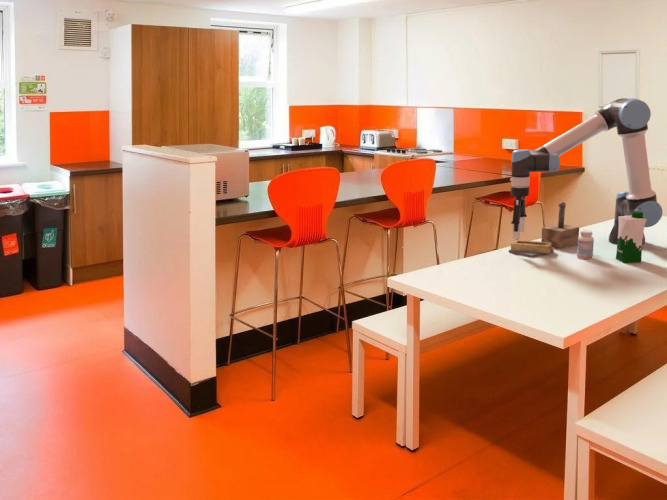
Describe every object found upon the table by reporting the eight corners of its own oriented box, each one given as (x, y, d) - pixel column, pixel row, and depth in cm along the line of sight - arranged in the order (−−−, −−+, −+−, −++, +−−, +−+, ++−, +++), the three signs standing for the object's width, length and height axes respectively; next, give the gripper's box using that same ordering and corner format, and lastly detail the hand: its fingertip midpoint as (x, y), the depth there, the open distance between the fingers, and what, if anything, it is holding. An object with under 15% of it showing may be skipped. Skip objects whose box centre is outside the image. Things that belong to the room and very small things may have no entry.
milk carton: (644, 263, 268) (649, 214, 263) (622, 264, 268) (627, 214, 263) (633, 257, 277) (637, 210, 272) (612, 258, 276) (616, 210, 271)
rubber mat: (553, 251, 288) (553, 249, 288) (531, 257, 280) (531, 255, 279) (530, 246, 298) (530, 244, 297) (508, 252, 289) (508, 250, 289)
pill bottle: (580, 255, 282) (582, 229, 280) (594, 257, 278) (597, 231, 275) (574, 257, 278) (576, 231, 275) (588, 260, 274) (590, 233, 271)
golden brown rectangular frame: (549, 253, 282) (549, 246, 281) (510, 250, 288) (511, 243, 287) (551, 249, 289) (551, 242, 288) (513, 246, 295) (513, 239, 294)
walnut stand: (578, 244, 300) (581, 201, 295) (560, 249, 292) (563, 205, 288) (559, 240, 308) (561, 198, 303) (541, 245, 300) (543, 202, 296)
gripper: (515, 181, 297) (514, 228, 302) (506, 190, 275) (504, 241, 280) (533, 182, 294) (531, 229, 299) (524, 191, 272) (523, 242, 277)
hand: (518, 235), depth 289 cm, fingers open, 13 cm apart
